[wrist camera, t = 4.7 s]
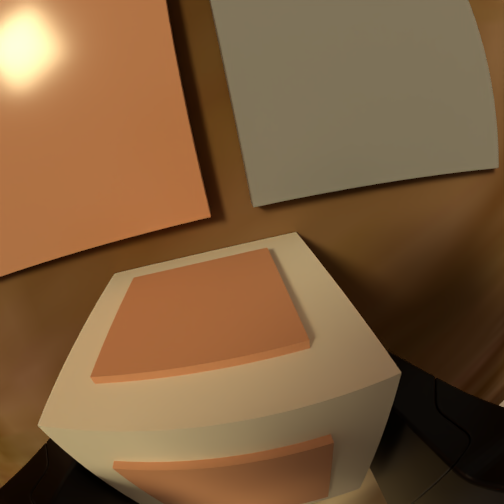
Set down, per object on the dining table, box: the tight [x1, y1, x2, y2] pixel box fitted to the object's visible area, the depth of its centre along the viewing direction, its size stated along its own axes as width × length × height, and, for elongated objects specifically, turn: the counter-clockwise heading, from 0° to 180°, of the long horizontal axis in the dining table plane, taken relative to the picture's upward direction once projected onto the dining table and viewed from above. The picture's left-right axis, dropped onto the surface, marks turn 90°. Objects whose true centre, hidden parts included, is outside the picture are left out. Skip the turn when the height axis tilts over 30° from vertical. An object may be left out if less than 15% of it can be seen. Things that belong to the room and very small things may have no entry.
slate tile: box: [209, 0, 498, 207], centre depth 5 cm, size 9×9×1 cm
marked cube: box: [38, 232, 401, 504], centre depth 6 cm, size 5×5×5 cm
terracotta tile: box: [0, 0, 211, 277], centre depth 5 cm, size 9×9×1 cm
